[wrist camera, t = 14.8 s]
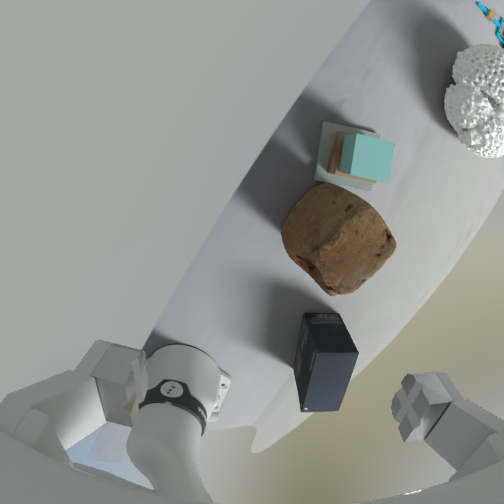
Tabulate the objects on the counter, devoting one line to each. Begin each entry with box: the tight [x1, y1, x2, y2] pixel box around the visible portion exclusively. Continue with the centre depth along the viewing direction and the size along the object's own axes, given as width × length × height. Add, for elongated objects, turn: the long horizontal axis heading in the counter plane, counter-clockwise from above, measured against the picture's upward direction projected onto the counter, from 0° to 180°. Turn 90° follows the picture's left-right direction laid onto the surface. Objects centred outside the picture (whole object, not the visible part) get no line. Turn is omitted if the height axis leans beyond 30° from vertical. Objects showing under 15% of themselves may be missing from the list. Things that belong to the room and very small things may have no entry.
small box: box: [294, 313, 359, 412], centre depth 48 cm, size 13×7×12 cm, turn 176°
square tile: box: [314, 121, 380, 191], centre depth 43 cm, size 9×9×1 cm
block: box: [281, 183, 396, 296], centre depth 37 cm, size 11×8×20 cm
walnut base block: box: [327, 131, 376, 183], centre depth 40 cm, size 6×6×5 cm
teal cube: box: [339, 133, 394, 183], centre depth 35 cm, size 5×5×5 cm
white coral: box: [444, 44, 504, 158], centre depth 33 cm, size 20×18×16 cm
